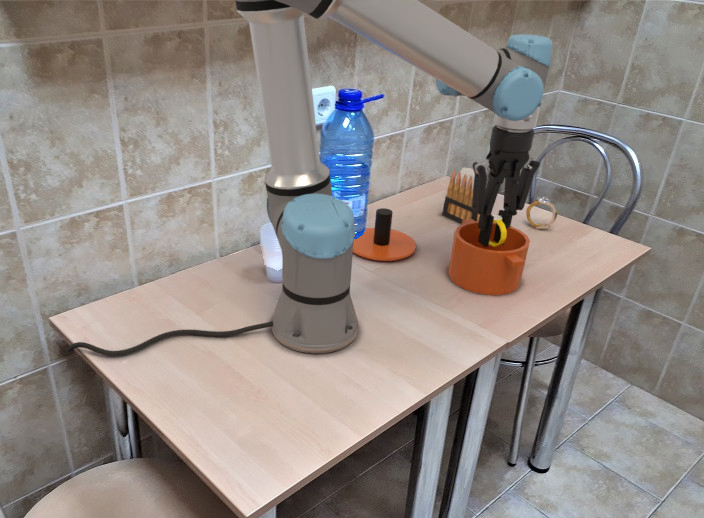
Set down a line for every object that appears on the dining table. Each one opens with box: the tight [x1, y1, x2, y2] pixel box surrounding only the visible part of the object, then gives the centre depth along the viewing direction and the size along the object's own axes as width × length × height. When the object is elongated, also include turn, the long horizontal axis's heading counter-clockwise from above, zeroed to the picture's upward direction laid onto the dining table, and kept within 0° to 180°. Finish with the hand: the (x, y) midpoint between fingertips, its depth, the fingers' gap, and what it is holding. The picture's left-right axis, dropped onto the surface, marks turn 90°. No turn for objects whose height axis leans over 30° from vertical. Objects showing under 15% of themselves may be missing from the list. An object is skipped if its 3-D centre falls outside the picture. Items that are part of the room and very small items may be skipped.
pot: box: [447, 219, 531, 296], centre depth 126 cm, size 15×20×10 cm
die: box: [455, 166, 475, 189], centre depth 163 cm, size 8×9×10 cm
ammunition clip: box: [441, 169, 480, 225], centre depth 149 cm, size 11×2×12 cm, turn 38°
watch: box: [489, 214, 507, 247], centre depth 123 cm, size 6×3×6 cm, turn 32°
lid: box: [353, 207, 417, 262], centre depth 136 cm, size 16×16×9 cm
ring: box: [525, 196, 558, 230], centre depth 148 cm, size 7×3×8 cm, turn 50°
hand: (490, 242), depth 124 cm, fingers closed on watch, 3 cm apart
